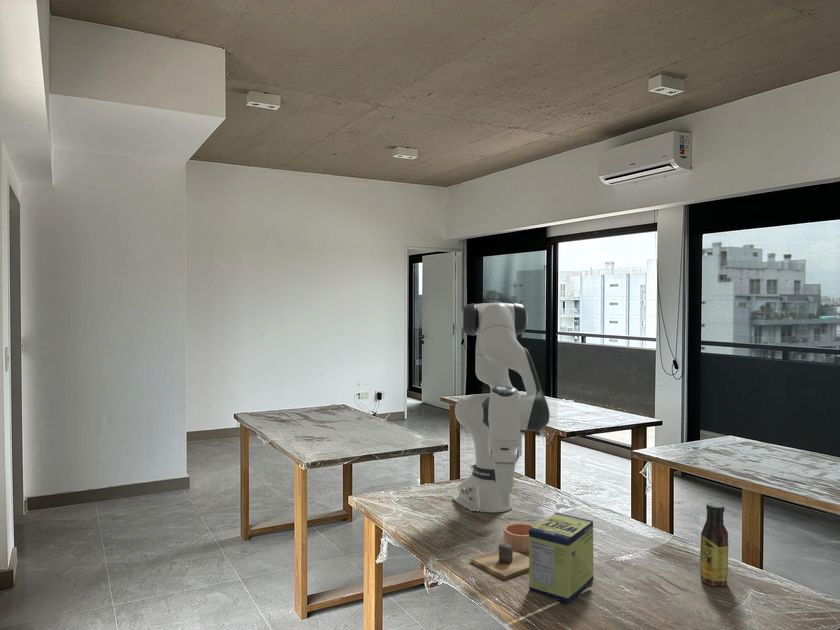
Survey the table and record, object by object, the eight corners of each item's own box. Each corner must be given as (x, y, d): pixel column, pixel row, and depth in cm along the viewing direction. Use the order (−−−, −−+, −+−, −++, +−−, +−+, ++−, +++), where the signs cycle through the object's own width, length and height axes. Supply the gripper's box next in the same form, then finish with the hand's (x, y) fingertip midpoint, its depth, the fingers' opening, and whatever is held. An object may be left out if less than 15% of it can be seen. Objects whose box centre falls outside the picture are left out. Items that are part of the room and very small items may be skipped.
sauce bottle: (695, 576, 156) (695, 499, 156) (720, 576, 156) (720, 499, 156) (707, 588, 150) (707, 508, 149) (733, 588, 150) (733, 508, 149)
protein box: (594, 581, 154) (594, 519, 154) (568, 605, 142) (568, 539, 142) (555, 570, 161) (555, 511, 161) (528, 592, 149) (527, 529, 148)
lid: (471, 562, 165) (471, 544, 164) (506, 550, 172) (506, 533, 172) (505, 580, 154) (504, 560, 154) (540, 566, 162) (540, 547, 162)
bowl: (496, 545, 178) (496, 528, 177) (521, 537, 183) (521, 520, 183) (521, 556, 169) (521, 538, 169) (546, 547, 175) (546, 530, 175)
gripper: (494, 439, 173) (495, 488, 173) (491, 457, 153) (492, 512, 153) (517, 440, 172) (517, 489, 172) (517, 457, 152) (517, 513, 152)
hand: (505, 500), depth 163 cm, fingers open, 8 cm apart
